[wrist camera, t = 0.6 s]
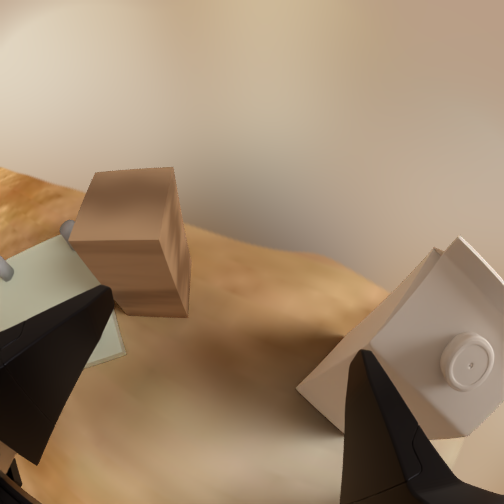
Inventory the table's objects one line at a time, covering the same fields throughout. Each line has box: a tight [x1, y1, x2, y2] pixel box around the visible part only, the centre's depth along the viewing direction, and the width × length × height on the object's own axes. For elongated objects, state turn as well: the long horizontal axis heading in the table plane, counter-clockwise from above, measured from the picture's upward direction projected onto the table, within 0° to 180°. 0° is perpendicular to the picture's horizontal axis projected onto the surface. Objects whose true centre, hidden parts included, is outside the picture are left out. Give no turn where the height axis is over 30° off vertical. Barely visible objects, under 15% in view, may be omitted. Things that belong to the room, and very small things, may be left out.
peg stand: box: [0, 220, 127, 369], centre depth 22 cm, size 16×16×4 cm
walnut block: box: [68, 167, 191, 318], centre depth 21 cm, size 6×6×12 cm
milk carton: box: [296, 235, 504, 440], centre depth 15 cm, size 7×7×19 cm
